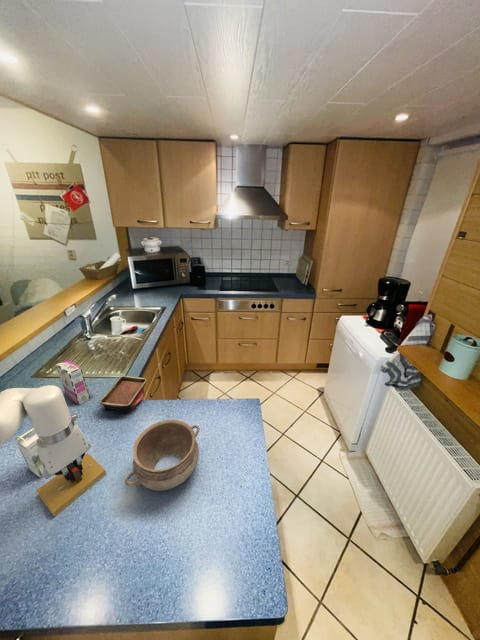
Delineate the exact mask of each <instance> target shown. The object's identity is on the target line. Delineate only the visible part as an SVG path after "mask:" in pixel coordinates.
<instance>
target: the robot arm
mask: <svg viewBox="0 0 480 640" xmlns="http://www.w3.org/2000/svg"><path fill="white" fill-rule="evenodd" d="M27 417H28V419H29V421H30V423H31V425H32V428H34V429H35V432H36V434H37V436H38V438H39V439H38V440H37V442H36V446H37V452H38V455H39V458H40V461H41V463H42V466H43V467H44V474H43V476H42V477H43V478H44V479H45V480H48V479H50V478H54V477H55V476H57V475H62V474H63V475H64V477H65V479H66V480H67V481H68V480H69V479H70V481H71V482H74V480H75V479H74V477H73V474H72V472H71V471H70V470H69V469H68V468H67V467H66V466H67V465H68V464H70V463H71V462H72V463H73V464H74V465H75V466H76V467H77V468H78V469H79V471H80V474H81V475H83V473H82V469H83V467H82V464H81V463H82V459H83V457H84V455H86V454H87V453H88V451H89V450H90V449H91V448H92V444H91V443H90V442H88V441H87V439H86V437H85V435H84V433H83V431H82V429H81V427H79V425H78V423H77V422H76V420H77V419H78V418H79V416H78V414H77V413H74V414H72V415H71V412H70V410H69V407H68V404H67V401H66V399H65V396H64V392H63V391H62V389H61V388H60V387H59V386H57V385H55V384H54V385H53V384H48V385H43V386H39V387H33V388H32V387H11V388H6V389H3V390H2V391H0V446H4V445H5V444H7V443H8V442H10V441H11V440H12V439H13V438H14V437H15V435H16V434H17V432H18V431H19V429H20V427H21V425H22V424H23V422H24V420H25V419H27Z"/></svg>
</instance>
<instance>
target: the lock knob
mask: <svg viewBox="0 0 480 640" xmlns="http://www.w3.org/2000/svg"><path fill="white" fill-rule="evenodd" d="M66 467H67V468H68V469H69V470H70V471H71V472H72V474H73V477H74V479H75V480H74V481H75V482H76V483H77V484H78V483H79V482H80V481H81V480H82V476H81V474H80V471H79V469H78V468H77V467H76V466H75V465H74V464H73V463H72V462H71V463H70V464H68V465H67V466H66Z"/></svg>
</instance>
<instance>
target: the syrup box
mask: <svg viewBox="0 0 480 640" xmlns="http://www.w3.org/2000/svg"><path fill="white" fill-rule="evenodd" d="M38 439H39V438H38V436H37V434H36V432H35V429H34V427H32V428H31V429H29V430H28V431H26V432H25V433H23V434H21V435H20V436H18V437H17V438H15V439H14V441H15V443H16V446H17V447H18V450H19V451H20V454H21V455H22V457H23V459H24V461H25V463H26V466H27V467H28V469H29V471H31V473H33V474H34V475H36V476H37V477H39V478H43V477H44V476H43V474H44V467H43V466H42V463H41V461H40V458H39V455H38V452H37V446H36V442H37V440H38Z"/></svg>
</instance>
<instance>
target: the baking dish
mask: <svg viewBox="0 0 480 640" xmlns="http://www.w3.org/2000/svg"><path fill="white" fill-rule="evenodd" d="M146 383H147V379H146V378H144V377H141V376H131V375H122V376H120V377H119V378H118V379H117V380H116V381H115V383H114V384H113V385H112V386H111V388H110V389H109V390H108V391H107V392H106V393H105V394H104V396H103V397H102V398H101V399H100V401H99V404H100V405H101V406H103V407H104V410H105V411H108V410H115V411H116V412H117V411H118V412H121V413H123V414H132V412H134V411H135V409H136V408H137V406H138V404H139V403H140V402H141V401H142V400H143V399H144V397H145V396H146V395H145V394H146V393H145V387H146Z"/></svg>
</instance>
